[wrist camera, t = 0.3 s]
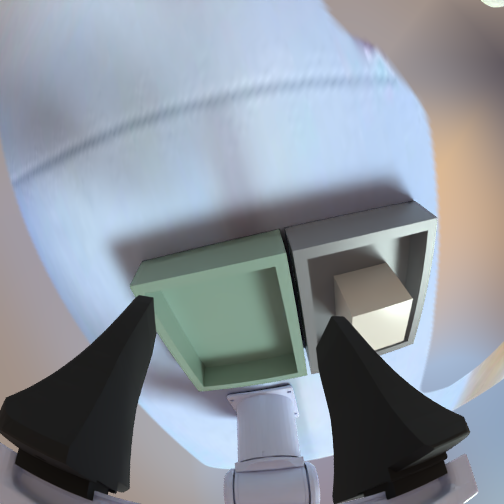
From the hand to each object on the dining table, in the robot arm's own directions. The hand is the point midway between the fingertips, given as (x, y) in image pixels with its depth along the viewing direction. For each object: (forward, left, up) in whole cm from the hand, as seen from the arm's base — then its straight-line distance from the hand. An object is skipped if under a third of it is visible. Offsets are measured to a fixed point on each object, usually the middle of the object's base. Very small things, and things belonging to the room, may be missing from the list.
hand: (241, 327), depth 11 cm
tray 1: (-8, +3, -10) cm, 13 cm away
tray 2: (-8, -8, -10) cm, 15 cm away
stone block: (-8, -8, -9) cm, 14 cm away
